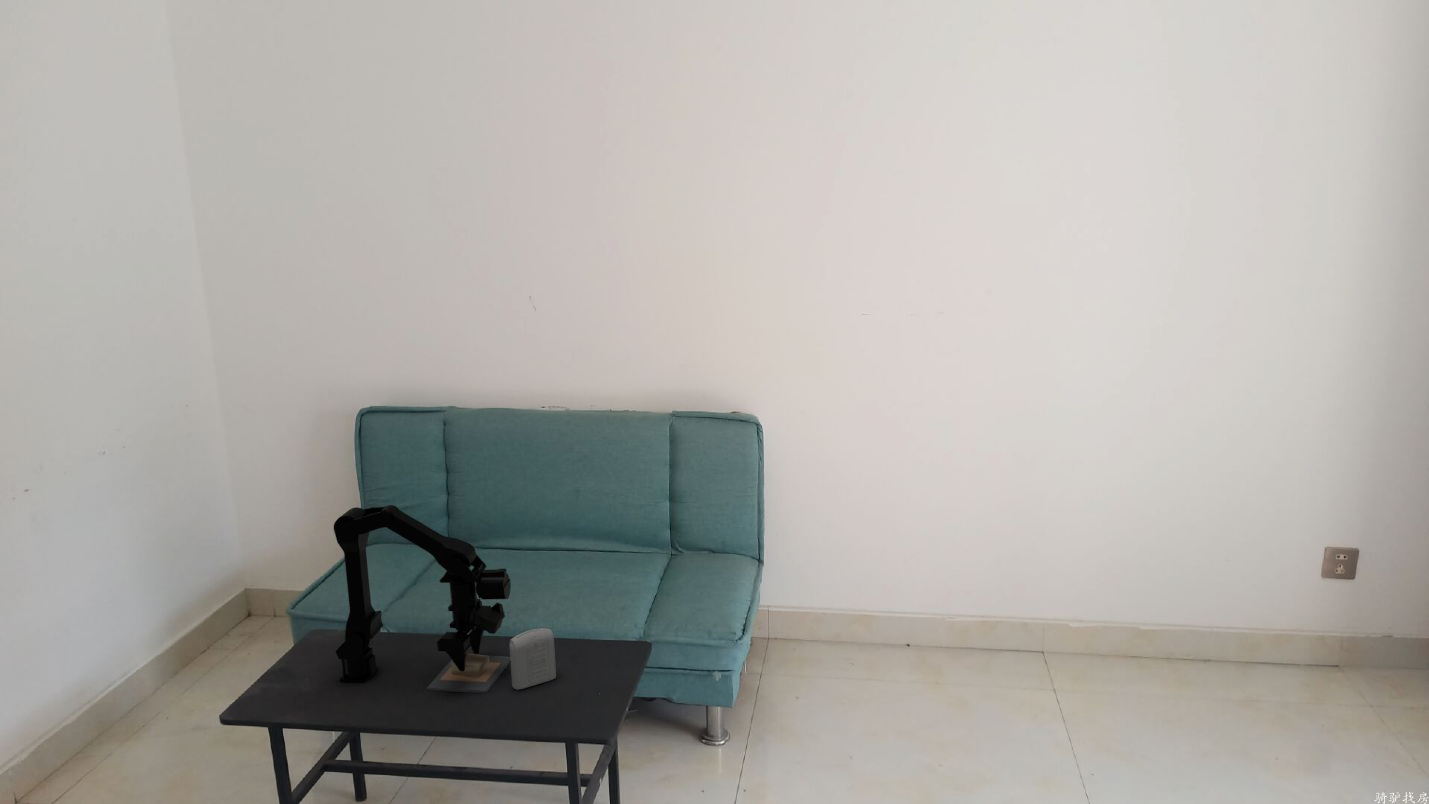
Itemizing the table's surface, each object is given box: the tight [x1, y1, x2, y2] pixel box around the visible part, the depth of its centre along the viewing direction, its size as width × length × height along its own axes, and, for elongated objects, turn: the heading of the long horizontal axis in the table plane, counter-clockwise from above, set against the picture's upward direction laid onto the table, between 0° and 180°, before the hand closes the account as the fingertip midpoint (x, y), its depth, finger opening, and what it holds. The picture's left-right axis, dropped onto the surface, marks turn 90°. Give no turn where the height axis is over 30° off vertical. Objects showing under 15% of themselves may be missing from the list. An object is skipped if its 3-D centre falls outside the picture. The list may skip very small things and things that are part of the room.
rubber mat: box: [426, 655, 511, 694], centre depth 216 cm, size 14×16×1 cm
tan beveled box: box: [451, 652, 490, 678], centre depth 215 cm, size 5×7×3 cm
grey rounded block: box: [508, 627, 557, 691], centre depth 210 cm, size 10×4×12 cm, turn 123°
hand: (469, 662), depth 215 cm, fingers open, 8 cm apart
